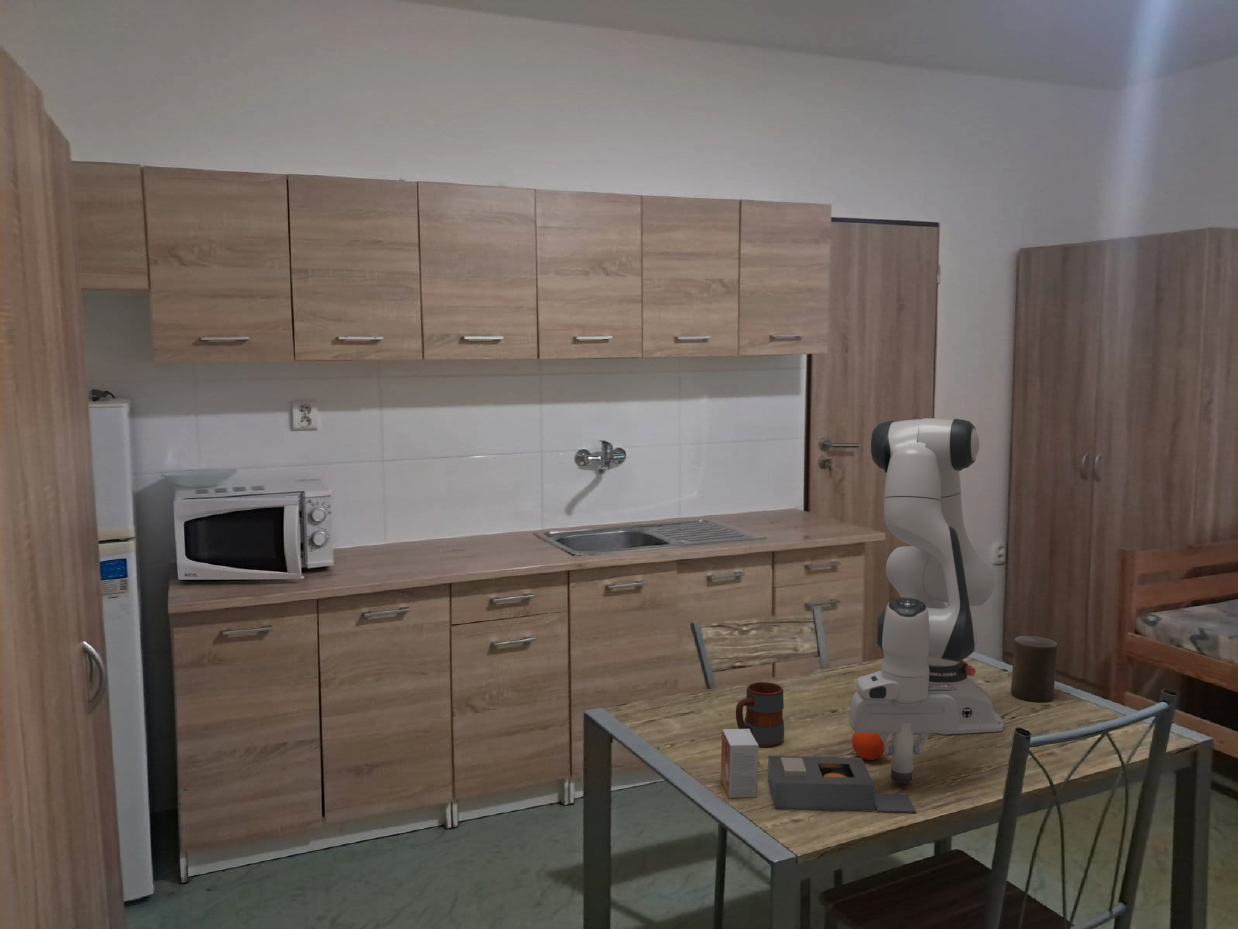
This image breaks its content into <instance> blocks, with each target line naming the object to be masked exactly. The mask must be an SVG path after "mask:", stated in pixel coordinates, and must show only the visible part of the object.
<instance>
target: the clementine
mask: <svg viewBox="0 0 1238 929" xmlns="http://www.w3.org/2000/svg"><path fill="white" fill-rule="evenodd" d="M885 739H886V740H887V738H885ZM851 744H852V748H853V751H854V752H855V753H856V754H857V756H859V758H862V760H868V761H875V760H877V759H879V758H881V757H882V756H883V755H884V754H885V753H884V743H883V741H882V739H881V738H880V736H879V734H878V733H856V732H855V731H854V733H853V734H852V737H851Z"/></svg>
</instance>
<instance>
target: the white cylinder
mask: <svg viewBox="0 0 1238 929" xmlns="http://www.w3.org/2000/svg"><path fill="white" fill-rule="evenodd" d="M891 735H892V736H891V737H892V738H891V743H892V745H893V746H894V750H893V754H891V760H890V761H891V762H890V763H891V764H890V766H891V768H890V769H891V770H890V779H891V780H892V781H894V782H895V783H898V784H909V783H911V782H912V781H913V774H914V770H913V769H914V754H913V749H914V743H915V742H914V741H915V733H911V723H901V731H900V733H891Z"/></svg>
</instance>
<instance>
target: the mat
mask: <svg viewBox="0 0 1238 929" xmlns="http://www.w3.org/2000/svg"><path fill="white" fill-rule="evenodd" d="M874 810H876V813H879V814H880V813H883V814H917V810H916V809H915V806H914V805H913V803H912V801H911V799H910V798H909V796H908V794H907V793H885V792H884V793H883V792H882V793H879V792H877V793H875V798H874Z"/></svg>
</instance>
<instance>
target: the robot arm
mask: <svg viewBox="0 0 1238 929" xmlns="http://www.w3.org/2000/svg"><path fill="white" fill-rule="evenodd" d="M869 440H870V441H869V449H870V450H869V451H870V455H871V459H872V462H873V463H874V464H875V465H876V466H877V467H878V468H879V469H882V470H883V471H884V473H885V474H886V475H885V476H886V477H885V484H884V495H883V515H884V516H883V517H884V524H885V525H886V528H887V529H888V531H889V532H890V534H892V535H893V536H894V537H896V539H898V540H900V541H901V542H902V543H904V544H907V546H906V545H904V546H898V547H897V548H895V549H893V551H892V552H891V553H890V555H888V558H887V560H886V564H885V574H886V577H887V580H888V582H889V583H890V584H891V585H892V586H893V588H894V589H895V590H896V591H897V593H898V595H899V596H900V597H898V598H895V599H892V600H890V601H889V602H888V603H887V605H886V608H885V609H884V610H883V611H882V612H880V613H879V615H878V616H877V619H876V621H877V625H876V626H877V632H876V633H877V640H876V644H877V646H878V647H879V648H880V650H882V652H883V659H882V663H881V665H880V666H881V667H880V668H881V669H880V670H878V671H875V672H872V673H869V674H866V675H862V676H859V677H858V678H856V683H855V685H856V688H857V690H856V692H854V693H853V695H852V698H851V703H850V709H849V718H848V719H849V720H848V721H849V725H850V728H851V729H852V731H854V733H855V732H856V733H878V734H879V736H880V738H881V739H882V741H883V743H884V753H883V754H885V755H892V754H893V750H894V746H893V745H892V742H888V741H887V739H889V734H892V733H900V731H901V723H911V733H914V734H918V735H919V736H918V738H917V740H916V742H914V749H913V755H922V753H923V752H922V751H923V746H924V745H925V743H926V742H927V741H928V739H929V734H937V735H961V734H962V735H963V734H975V733H976V734H977V733H979V734H980V733H994V732H1003V731H1004V729H1005V723H1004V720H1003V718H1002V717H1001V715H1000V714H999V713H997V712H996V711H995V710H994V706H993V701H992V698H991V696H990V695H989V693H988V692H987V691H986V690H984V688H982V687H981V686H980V685H979V684H978V683H976V682H975V681H974V680H973V679H971V678H970V677H974V676H975V675H976V672H977V671H976V669H975V668H974V667H973V666H972V665H970V664H969V663H968V662H966V661H964V660H965V659H967V658H968V657H970V655H972V654H973V653H974V652H975V649H976V646H977V642H978V640H977V639H978V638H977V637H978V634H977V629H976V623H975V621H974V617H973V615H972V611H971V607H977V606H982V605H984V604H985V603H986V602H987V601H988V600H989V599H990V598H991V597H992V594H993V593H994V589H995V582H996V581H995V575H994V572H993V569H992V567H991V566H990V565H989V564H988V563H986V562H985V561H984V560H983V559H982V558H981V556H980V555H979V554H978V552H977V551H976V550H975V548H974V546H973V544H972V543H971V540H970V538H969V535H968V533H967V531H966V528H965V524H964V517H963V506H962V489H961V488H962V487H961V477H960V476H961V475H960V472H961V471H962V470H964V469H968V468H969V467H971V466H973V464H974V463H975V462H976V459H977V456H978V454H979V449H980V439H979V435H978V433H977V428H976V427H975V425H974V424H973V423H972V422H971V421H969V420H966V419H960V418H954V419H949V418H947V419H945V418H932V417H931V418H929V417H928V418H927V417H926V418H925V417H924V418H922V419H918V418H917V419H915V418H914V419H907V420H899V421H894V420H888V421H883V422H881V423H878V424H877V425H876V426H875V427H874V429H873V430H872V433H871V437H870V439H869ZM945 603H947V606H946V604H945ZM885 738H886V739H885Z"/></svg>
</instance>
